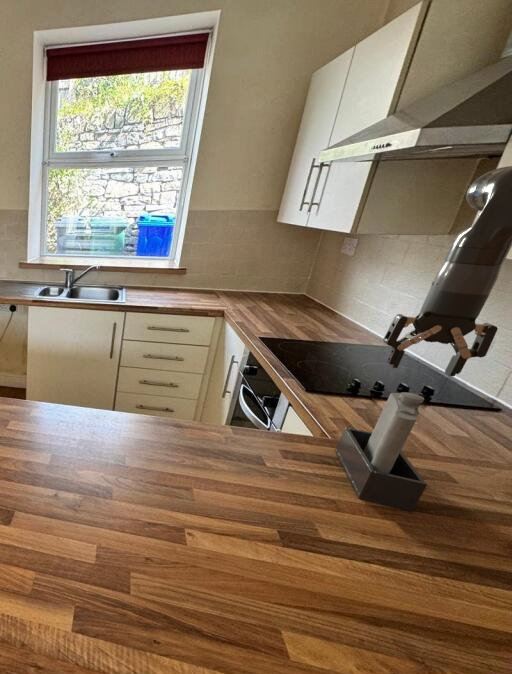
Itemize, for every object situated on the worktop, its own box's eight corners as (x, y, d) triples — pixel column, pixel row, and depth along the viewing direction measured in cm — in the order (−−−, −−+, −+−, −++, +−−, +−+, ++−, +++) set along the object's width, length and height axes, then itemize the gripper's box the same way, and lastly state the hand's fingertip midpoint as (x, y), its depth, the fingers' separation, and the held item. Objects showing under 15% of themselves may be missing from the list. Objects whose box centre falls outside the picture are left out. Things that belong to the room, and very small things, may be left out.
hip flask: (359, 456, 97) (395, 380, 89) (381, 463, 94) (420, 386, 86) (360, 488, 85) (401, 404, 77) (385, 496, 83) (430, 411, 75)
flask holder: (378, 460, 97) (389, 436, 94) (412, 512, 80) (427, 484, 77) (334, 450, 100) (344, 427, 98) (358, 498, 83) (371, 471, 81)
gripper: (417, 287, 73) (381, 370, 80) (528, 296, 67) (479, 384, 74) (401, 282, 79) (369, 359, 86) (502, 289, 74) (459, 371, 80)
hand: (420, 370), depth 80 cm, fingers open, 8 cm apart
